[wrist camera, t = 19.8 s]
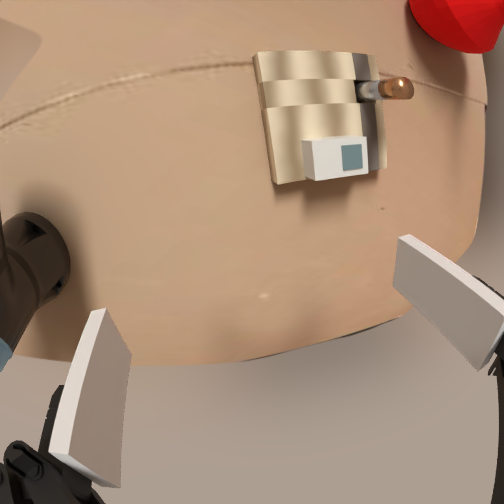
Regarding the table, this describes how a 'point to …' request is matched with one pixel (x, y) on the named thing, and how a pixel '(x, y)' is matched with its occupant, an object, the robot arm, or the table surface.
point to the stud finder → (334, 157)
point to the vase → (461, 22)
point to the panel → (315, 105)
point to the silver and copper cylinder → (384, 89)
